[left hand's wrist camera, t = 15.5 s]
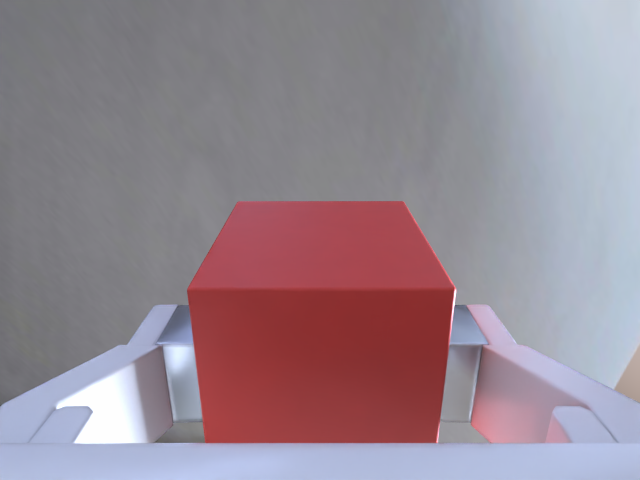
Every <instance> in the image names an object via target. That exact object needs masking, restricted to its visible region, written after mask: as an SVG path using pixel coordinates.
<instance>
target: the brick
mask: <svg viewBox="0 0 640 480" xmlns="http://www.w3.org/2000/svg"><path fill="white" fill-rule="evenodd" d="M187 294H188V302H189V310H190V319H191V327H192V336H193V344H194V352H195V361H196V369H197V377H198V386H199V394H200V403H201V411H202V419H203V428H204V436H205V443H438V435H439V426H440V418H441V410H442V402H443V394H444V385H445V377H446V369H447V361H448V353H449V344H450V336H451V328H452V320H453V312H454V303H455V295H456V288H455V286H454V285H453V283H452V281H451V280H450V278H449V276H448V275H447V273H446V271H445V270H444V268H443V266H442V265H441V263H440V261H439V260H438V258H437V256H436V255H435V253H434V251H433V250H432V248H431V246H430V245H429V243H428V241H427V240H426V238H425V236H424V235H423V233H422V231H421V230H420V228H419V226H418V225H417V223H416V221H415V220H414V218H413V216H412V215H411V213H410V211H409V210H408V208H407V206H406V205H405V203H404V202H403V201H239V202H237V204H236V206H235V207H234V209H233V211H232V212H231V214H230V216H229V218H228V219H227V221H226V223H225V225H224V226H223V228H222V230H221V232H220V233H219V235H218V237H217V238H216V240H215V242H214V244H213V245H212V247H211V249H210V251H209V252H208V254H207V256H206V257H205V259H204V261H203V263H202V264H201V266H200V268H199V270H198V271H197V273H196V275H195V276H194V278H193V280H192V282H191V283H190V285H189V287H188V289H187Z"/></svg>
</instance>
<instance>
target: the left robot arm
mask: <svg viewBox="0 0 640 480" xmlns="http://www.w3.org/2000/svg"><path fill="white" fill-rule="evenodd" d="M184 422H203V419H202V411H201V403H200V394H199V386H198V377H197V369H196V361H195V352H194V344H193V336H192V327H191V319H190V310H189V305H156V306H154V307H153V308H152V309H151V311H150V312H149V314H148V315H147V317H146V318H145V319H144V321H143V322H142V324H141V325H140V327H139V328H138V330H137V331H136V333H135V334H134V335H133V337H132V338H131V340H130V341H129V343H128V344H127V345H119V346H117V347H115V348H113V349H111V350H109V351H107V352H105V353H103V354H101V355H99V356H97V357H95V358H93V359H91V360H89V361H87V362H85V363H83V364H81V365H79V366H77V367H75V368H73V369H71V370H69V371H67V372H65V373H63V374H61V375H60V376H58V377H56V378H54V379H52V380H50V381H48V382H46V383H44V384H42V385H40V386H38V387H36V388H34V389H32V390H30V391H28V392H26V393H24V394H22V395H20V396H18V397H16V398H14V399H12V400H10V401H8V402H6V403H4V404H2V406H1V407H0V480H640V403H639V402H637V401H635V400H633V399H631V398H629V397H627V396H625V395H623V394H621V393H619V392H617V391H615V390H613V389H611V388H609V387H607V386H605V385H603V384H601V383H599V382H597V381H595V380H593V379H591V378H589V377H587V376H585V375H583V374H581V373H579V372H577V371H575V370H573V369H571V368H569V367H567V366H565V365H563V364H561V363H559V362H557V361H555V360H553V359H551V358H549V357H547V356H545V355H543V354H541V353H539V352H537V351H535V350H533V349H531V348H529V347H527V346H525V345H517V344H516V342H515V341H514V339H513V338H512V337H511V335H510V334H509V332H508V331H507V330H506V328H505V327H504V325H503V324H502V323H501V321H500V320H499V318H498V317H497V316H496V314H495V313H494V311H493V310H492V308H491V307H490V306H488V305H486V304H483V305H454V312H453V320H452V328H451V336H450V344H449V353H448V361H447V369H446V377H445V385H444V394H443V402H442V410H441V418H440V422H459V423H471V425H472V426H473V427H474V428H475V429H476V430H477V431H478V432H479V433H480V434H481V435H483V436H484V437H485V438H486V439H487V440H488V441H489V442H490V443H154V442H155V441H156V440H158V439H159V438H160V437H161V436H162V435H163V434H164V433H165V432H166V431H167V430H168V429H169V428H171V427H172V426H173V423H184Z"/></svg>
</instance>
